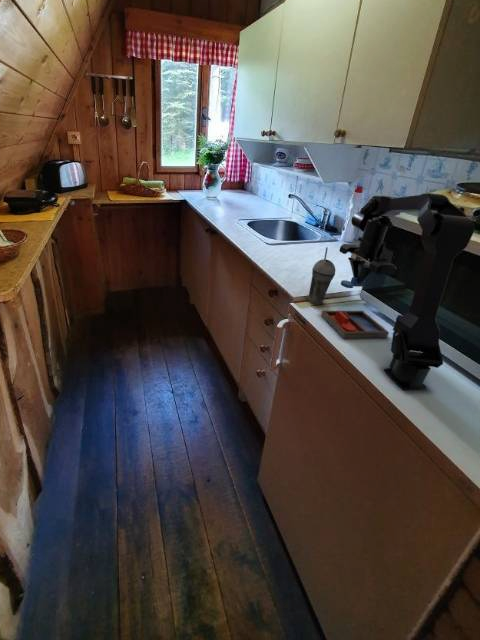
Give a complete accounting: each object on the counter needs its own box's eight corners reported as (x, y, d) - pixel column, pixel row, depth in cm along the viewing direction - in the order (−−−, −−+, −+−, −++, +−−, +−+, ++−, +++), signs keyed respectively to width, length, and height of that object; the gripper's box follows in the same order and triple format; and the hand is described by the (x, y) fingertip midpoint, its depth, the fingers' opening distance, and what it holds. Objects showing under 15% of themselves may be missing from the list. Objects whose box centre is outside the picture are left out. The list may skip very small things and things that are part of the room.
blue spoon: (358, 283, 102) (361, 275, 101) (366, 288, 98) (369, 280, 97) (338, 282, 100) (340, 275, 99) (345, 288, 97) (347, 280, 96)
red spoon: (330, 318, 96) (333, 310, 95) (341, 318, 97) (344, 310, 96) (346, 333, 89) (349, 325, 88) (357, 333, 90) (360, 325, 89)
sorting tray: (386, 338, 90) (389, 332, 89) (343, 339, 87) (345, 333, 87) (360, 315, 101) (362, 310, 100) (320, 316, 98) (322, 310, 97)
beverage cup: (329, 307, 104) (346, 253, 96) (308, 305, 103) (323, 250, 96) (321, 296, 110) (336, 245, 103) (301, 294, 110) (315, 242, 103)
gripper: (420, 248, 87) (401, 297, 92) (374, 229, 104) (359, 270, 109) (387, 247, 84) (369, 296, 90) (345, 227, 101) (332, 270, 107)
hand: (357, 282), depth 99 cm, fingers closed on blue spoon
